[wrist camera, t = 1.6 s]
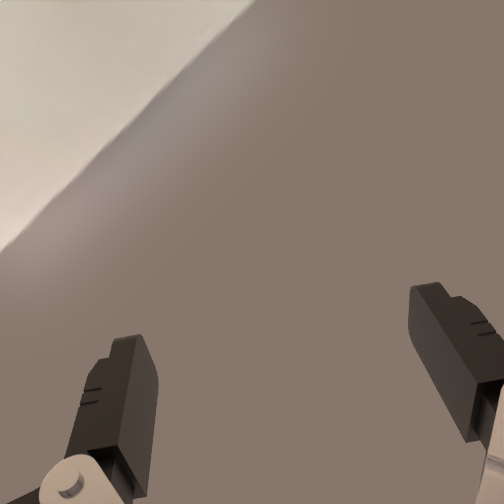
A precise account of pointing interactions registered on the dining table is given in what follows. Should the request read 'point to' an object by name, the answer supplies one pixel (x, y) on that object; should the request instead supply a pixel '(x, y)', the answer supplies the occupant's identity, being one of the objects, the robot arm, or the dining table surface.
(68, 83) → the dining table surface
